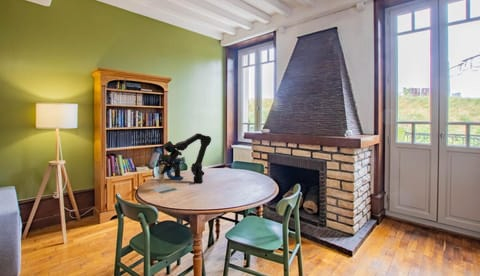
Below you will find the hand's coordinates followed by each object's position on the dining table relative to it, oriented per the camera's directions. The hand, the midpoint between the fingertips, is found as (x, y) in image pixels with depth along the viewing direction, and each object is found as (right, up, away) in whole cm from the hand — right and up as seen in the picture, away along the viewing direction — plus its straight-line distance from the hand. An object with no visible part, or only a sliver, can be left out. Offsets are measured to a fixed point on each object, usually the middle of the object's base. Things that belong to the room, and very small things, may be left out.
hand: (159, 173), depth 188 cm
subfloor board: (+2, -13, +2) cm, 13 cm away
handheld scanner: (+3, -10, +35) cm, 37 cm away
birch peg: (+1, -5, +1) cm, 5 cm away
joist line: (+7, -12, -3) cm, 14 cm away
